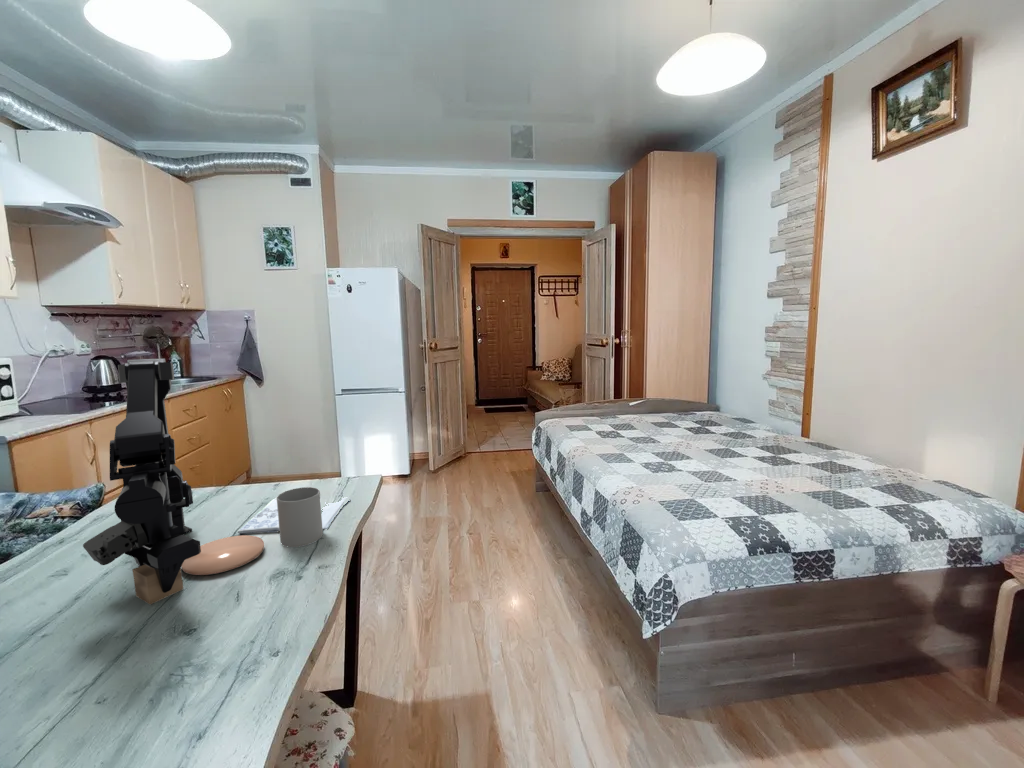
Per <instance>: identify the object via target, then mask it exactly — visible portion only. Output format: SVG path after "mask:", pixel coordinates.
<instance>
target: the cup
mask: <svg viewBox="0 0 1024 768" xmlns="http://www.w3.org/2000/svg"><path fill="white" fill-rule="evenodd" d="M276 499H277V508H278V519H279V531H280V532H279V539H280V540H279V541H280V544H281V543H282V544H281V545H282V546H283V545H284V547H287V546H288V548H299V546H300V547H304V546H308V545H311V544H313V543H316V542H317V541H319V540H320V539H321V538H322V537H323V535H324V532H323V531H324V530H323V529H322V516H321V502H320V499H321V492H320V490H319V488H316V487H312V486H310V487H309V486H307V487H299V488H297V487H296V488H292V489H287V490H285V491H283V492H281V493H279V494H278V495H277V497H276ZM315 541H316V542H315Z"/></svg>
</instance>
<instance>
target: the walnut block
mask: <svg viewBox="0 0 1024 768" xmlns="http://www.w3.org/2000/svg"><path fill="white" fill-rule="evenodd" d="M132 575H133V584H134V589H135V590H134V593H135V597H136V598H139V599H140V600H141V601H143V602H145V603H146V604H148V605H153V604H154V603H156V602H159V601H161V600H163V599H165V598H168V597H170V596H171V595H172V596H173V595H174V594H176V593H178V592H180V591H183V590H184V583H183V582H184V581H183V575H182V568H180V570H179V572H178V575H177V577H176V579H175V582H174V584H173V586H172V588H171V590H170V591H168V592H166V593H164V592H162V589H161V586H160V584H159V581H158V578H157V575H156V572H155V569H154V568H151V567H149V566H147V565H142V566H140V567H139V566H137V567H135V568H132Z"/></svg>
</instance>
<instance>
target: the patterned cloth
mask: <svg viewBox="0 0 1024 768" xmlns="http://www.w3.org/2000/svg"><path fill="white" fill-rule="evenodd" d="M343 497H344V496H343ZM343 497H341V498H342V500H341V501H339V502H336V503H328V504H329V506H328V504H326V502H325V504H326V505H327V506H325V507H323V508H322V509H323V510H322V509H321V510H322V511H323V512H322V514H321V516H322V529H327V530H328V529H329V528H330V526H331V525H332V523H333V522H332V520H333V519H334V517H335V516H336V514H337V512H338V510H339V509H340V507H341V506H342V505H343V503H344V501H345V500H346V499H347V498H348V497H349V496H346V497H344V498H343ZM336 517H337V516H336ZM334 520H335V519H334ZM334 520H333V521H334ZM331 522H332V523H331ZM330 524H331V525H330ZM277 531H279V519H278V508H277V498H273V499H271V501H269V502H268V503H267V504H266V505H265V506H264V507H263V508H262V509H261V510H260V511H258V512H257V513H256V514H255V515H254V516H253V517H252V518H251V519H249V520H248V521H247V522H246V523H245V524H244V525H243V526H242V527H241V528H239V529H238V530H237V533H238V534H240V535H246V534H247V535H248V534H262V533H261V532H267V533H278V532H277Z"/></svg>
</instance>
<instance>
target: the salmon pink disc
mask: <svg viewBox="0 0 1024 768" xmlns="http://www.w3.org/2000/svg"><path fill="white" fill-rule="evenodd" d="M200 547H201V552H200V554H198V555H196V556H193V557H191V558H188V559H186V560H184V562H183V564H182V566H181V571H183V572H184V573H186V574H188V575H195V576H204V575H206V576H207V575H213V574H215V575H216V574H219V573H223V572H228V571H231V570H234V569H237V568H239V567H242V566H244V565H246V564H249V563H251V562H252V561H254V560H255V559H257V558H258V557H259V556H260V555H261V554H262V553H263V551H264V549H265V541H264V540H263V539H262V538H261V537H258V536H256V535H248V534H247V535H246V534H241V535H233V536H227V537H223V538H222V537H221V538H219V539H214V540H212V541H209V542H206V543H203V544H202V545H201V544H200Z"/></svg>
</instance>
